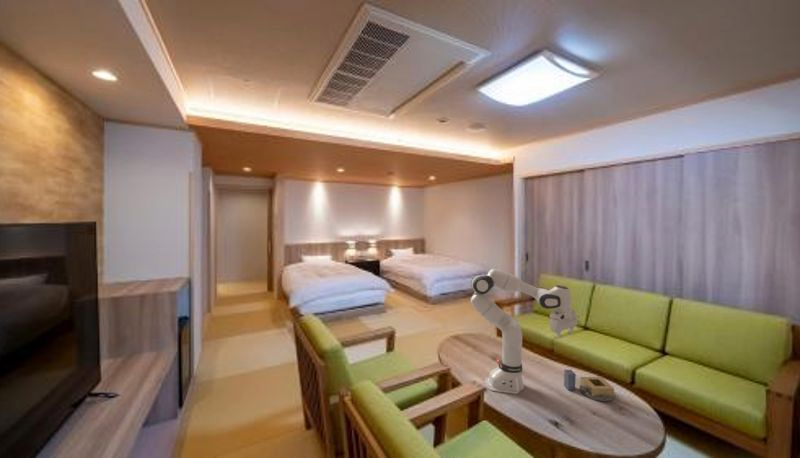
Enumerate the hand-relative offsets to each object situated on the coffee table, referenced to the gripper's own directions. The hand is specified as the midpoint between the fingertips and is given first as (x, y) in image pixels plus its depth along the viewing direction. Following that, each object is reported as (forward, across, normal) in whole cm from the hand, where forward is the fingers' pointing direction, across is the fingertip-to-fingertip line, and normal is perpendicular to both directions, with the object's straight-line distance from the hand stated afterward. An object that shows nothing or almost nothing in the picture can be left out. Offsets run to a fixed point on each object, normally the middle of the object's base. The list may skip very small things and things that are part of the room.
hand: (565, 336), depth 185 cm
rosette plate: (+32, -8, +11) cm, 35 cm away
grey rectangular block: (+31, +1, +1) cm, 31 cm away
